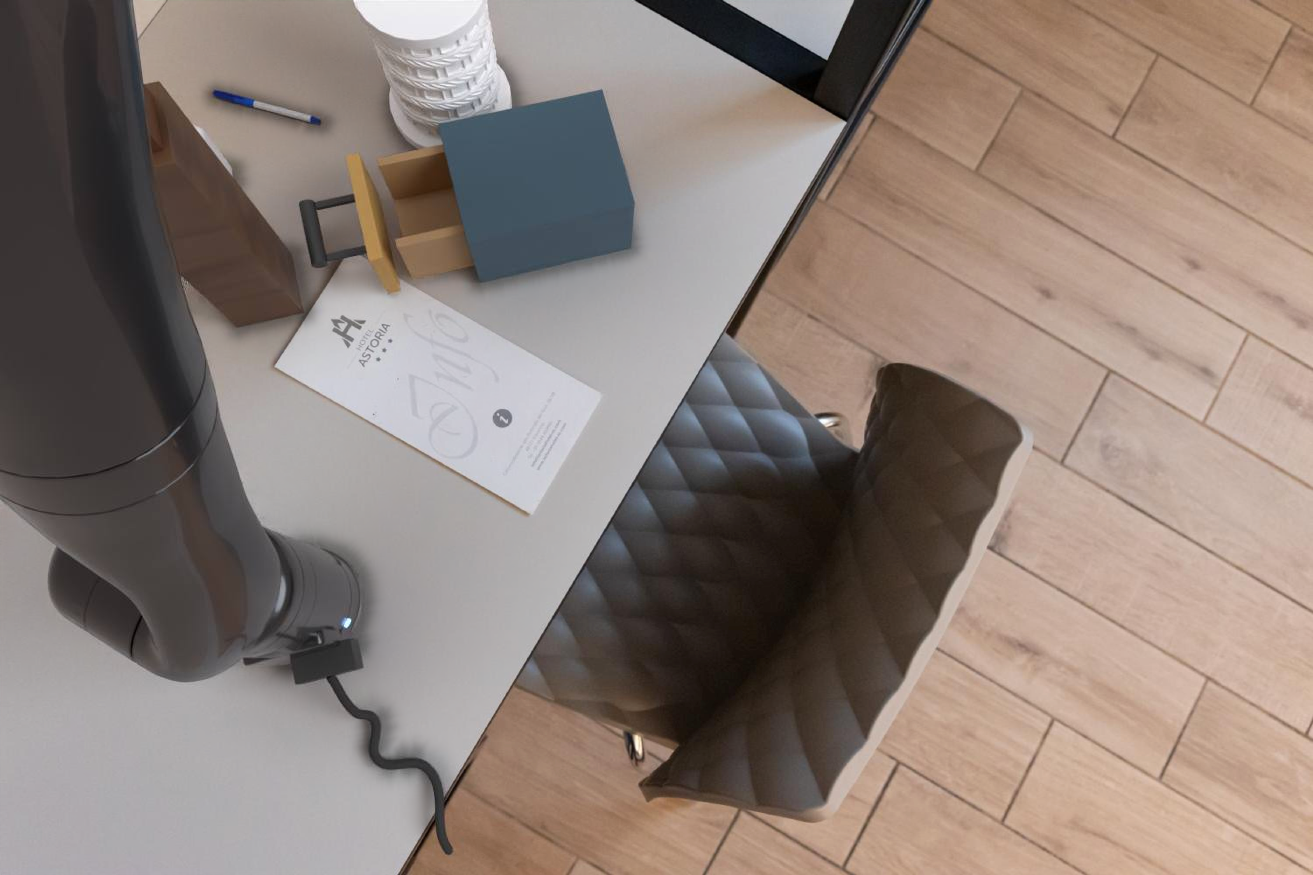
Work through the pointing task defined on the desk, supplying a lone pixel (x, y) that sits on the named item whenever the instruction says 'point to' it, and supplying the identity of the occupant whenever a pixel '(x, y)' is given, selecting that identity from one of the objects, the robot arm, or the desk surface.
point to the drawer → (399, 217)
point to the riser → (219, 227)
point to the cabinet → (539, 185)
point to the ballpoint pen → (264, 106)
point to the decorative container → (436, 62)
